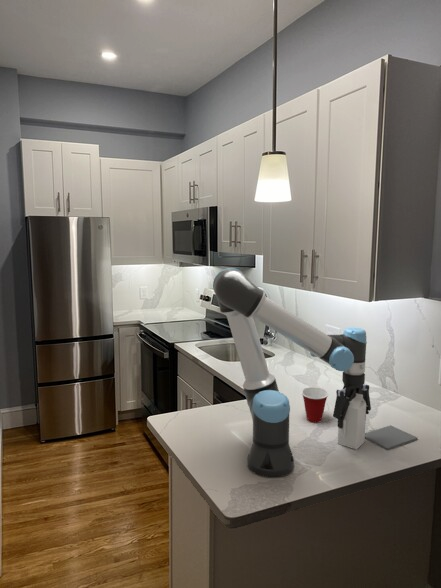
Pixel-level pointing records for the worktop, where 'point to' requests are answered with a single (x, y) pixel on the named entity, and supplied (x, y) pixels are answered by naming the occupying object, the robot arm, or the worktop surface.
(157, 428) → the worktop surface
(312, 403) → the plastic cup
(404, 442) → the gray mat
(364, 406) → the milk carton
